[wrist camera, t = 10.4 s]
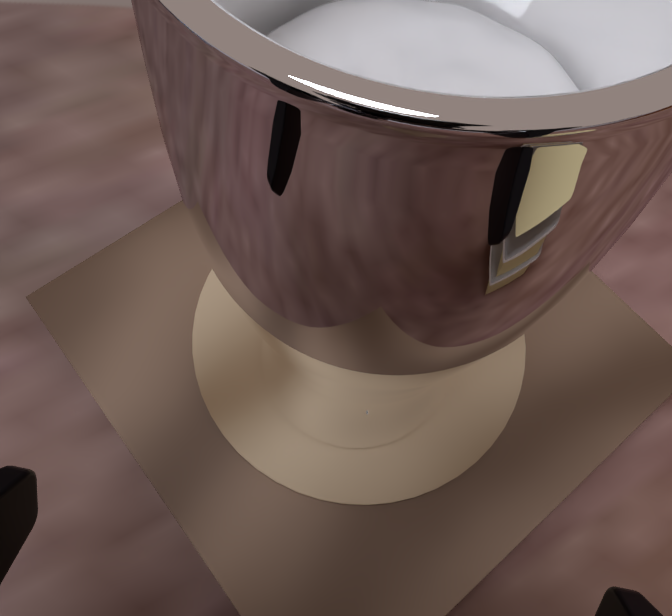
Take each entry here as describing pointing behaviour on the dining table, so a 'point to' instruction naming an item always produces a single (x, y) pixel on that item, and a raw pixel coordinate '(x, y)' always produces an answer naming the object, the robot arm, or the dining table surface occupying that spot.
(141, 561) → the dining table surface
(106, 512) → the dining table surface
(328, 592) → the walnut board
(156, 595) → the dining table surface
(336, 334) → the beer glass
